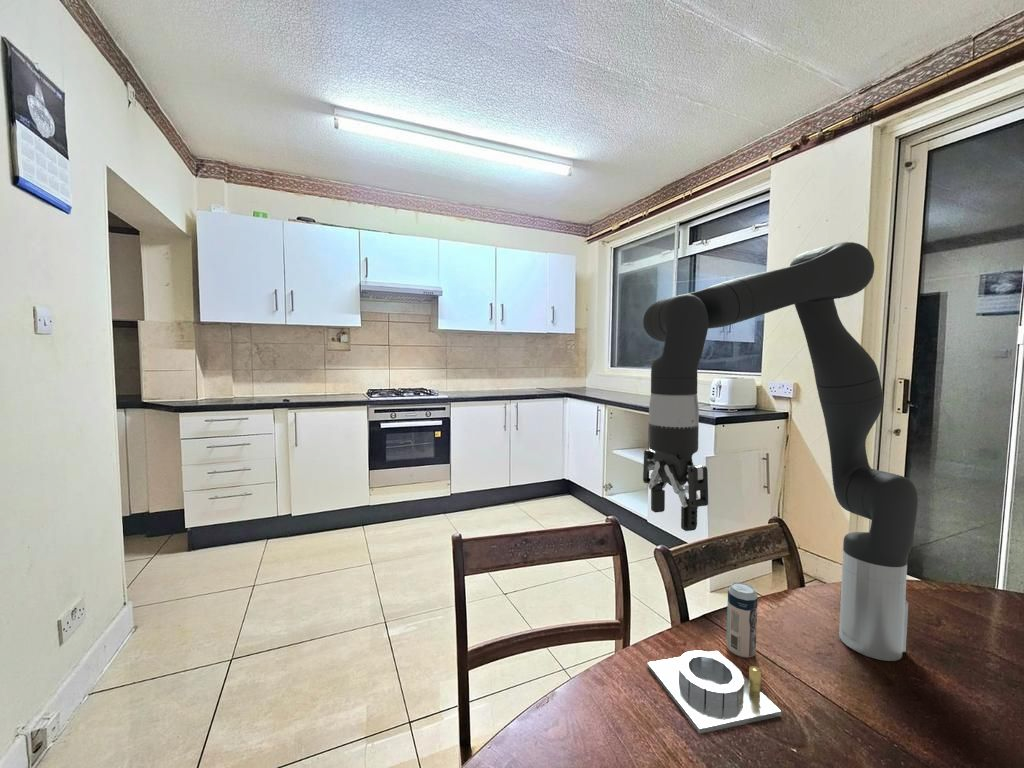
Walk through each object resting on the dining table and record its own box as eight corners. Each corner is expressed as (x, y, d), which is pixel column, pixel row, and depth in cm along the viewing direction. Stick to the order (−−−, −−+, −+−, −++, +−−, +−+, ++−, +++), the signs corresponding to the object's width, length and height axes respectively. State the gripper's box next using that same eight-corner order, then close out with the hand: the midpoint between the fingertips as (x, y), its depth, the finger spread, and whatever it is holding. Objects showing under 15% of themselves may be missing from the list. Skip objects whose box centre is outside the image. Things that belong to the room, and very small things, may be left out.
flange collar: (717, 655, 79) (717, 629, 79) (781, 716, 66) (782, 685, 65) (647, 666, 76) (648, 640, 76) (699, 733, 62) (700, 701, 62)
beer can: (759, 661, 78) (761, 596, 77) (730, 657, 79) (732, 593, 78) (750, 644, 82) (752, 582, 82) (723, 641, 83) (725, 579, 83)
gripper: (724, 427, 64) (722, 534, 65) (668, 415, 78) (667, 504, 79) (679, 429, 63) (678, 540, 64) (630, 417, 76) (629, 507, 77)
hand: (672, 520), depth 71 cm, fingers open, 8 cm apart
